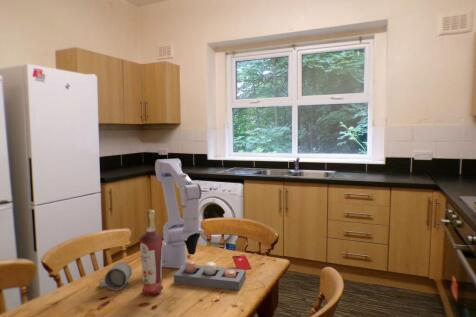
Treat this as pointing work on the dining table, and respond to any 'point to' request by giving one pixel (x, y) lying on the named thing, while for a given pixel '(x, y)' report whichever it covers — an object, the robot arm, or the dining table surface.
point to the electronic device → (241, 262)
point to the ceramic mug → (117, 276)
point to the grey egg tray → (210, 278)
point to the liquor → (151, 257)
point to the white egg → (210, 268)
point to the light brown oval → (230, 274)
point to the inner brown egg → (190, 266)
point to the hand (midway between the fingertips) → (191, 253)
